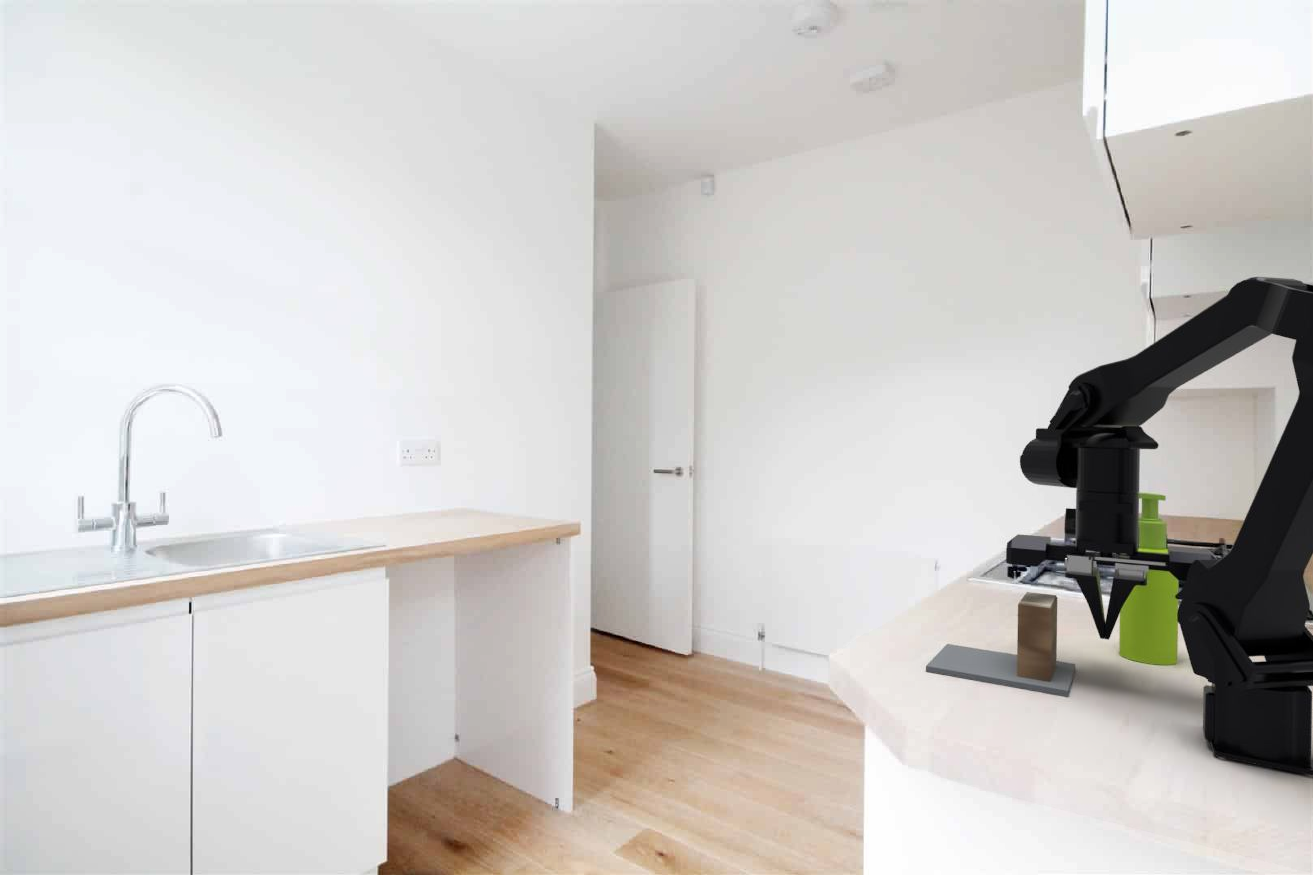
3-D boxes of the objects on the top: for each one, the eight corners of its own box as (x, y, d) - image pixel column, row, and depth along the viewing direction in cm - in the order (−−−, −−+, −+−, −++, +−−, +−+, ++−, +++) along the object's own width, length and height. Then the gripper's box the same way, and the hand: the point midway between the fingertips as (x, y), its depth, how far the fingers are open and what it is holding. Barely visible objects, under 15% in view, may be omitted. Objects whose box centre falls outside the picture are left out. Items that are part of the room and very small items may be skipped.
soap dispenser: (1105, 647, 94) (1107, 490, 94) (1169, 653, 91) (1171, 492, 91) (1115, 660, 88) (1117, 493, 88) (1183, 667, 86) (1186, 495, 86)
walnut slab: (1056, 665, 84) (1057, 595, 84) (1050, 682, 78) (1051, 606, 78) (1025, 660, 86) (1026, 591, 86) (1016, 676, 80) (1018, 602, 80)
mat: (1075, 669, 85) (1075, 663, 85) (1067, 696, 75) (1067, 690, 75) (947, 648, 92) (947, 643, 92) (925, 671, 83) (926, 665, 83)
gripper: (1210, 492, 80) (1208, 635, 80) (1020, 483, 90) (1018, 611, 90) (1219, 498, 71) (1217, 661, 71) (1006, 488, 81) (1004, 630, 81)
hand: (1104, 638), depth 78 cm, fingers closed
